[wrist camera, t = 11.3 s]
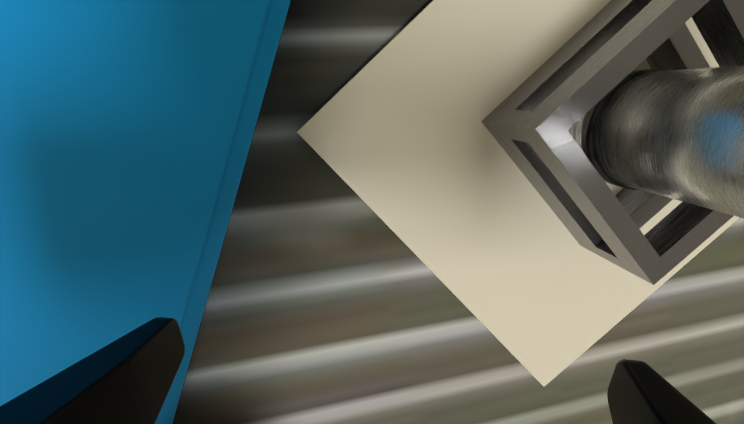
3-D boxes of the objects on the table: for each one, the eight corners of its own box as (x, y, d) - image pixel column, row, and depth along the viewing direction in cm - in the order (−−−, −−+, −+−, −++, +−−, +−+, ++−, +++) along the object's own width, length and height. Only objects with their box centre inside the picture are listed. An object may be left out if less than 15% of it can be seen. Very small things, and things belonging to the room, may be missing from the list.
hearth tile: (538, 379, 23) (543, 386, 23) (297, 131, 18) (296, 132, 18) (836, 120, 22) (851, 120, 21) (667, -228, 17) (680, -239, 16)
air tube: (610, 193, 20) (1083, 343, 8) (533, 149, 19) (944, 244, 7) (665, 103, 20) (1281, 116, 7) (589, 52, 19) (1162, -36, 6)
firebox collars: (580, 245, 21) (653, 285, 17) (480, 121, 19) (535, 128, 14) (710, 130, 20) (821, 139, 16) (624, -13, 18) (727, -48, 14)
